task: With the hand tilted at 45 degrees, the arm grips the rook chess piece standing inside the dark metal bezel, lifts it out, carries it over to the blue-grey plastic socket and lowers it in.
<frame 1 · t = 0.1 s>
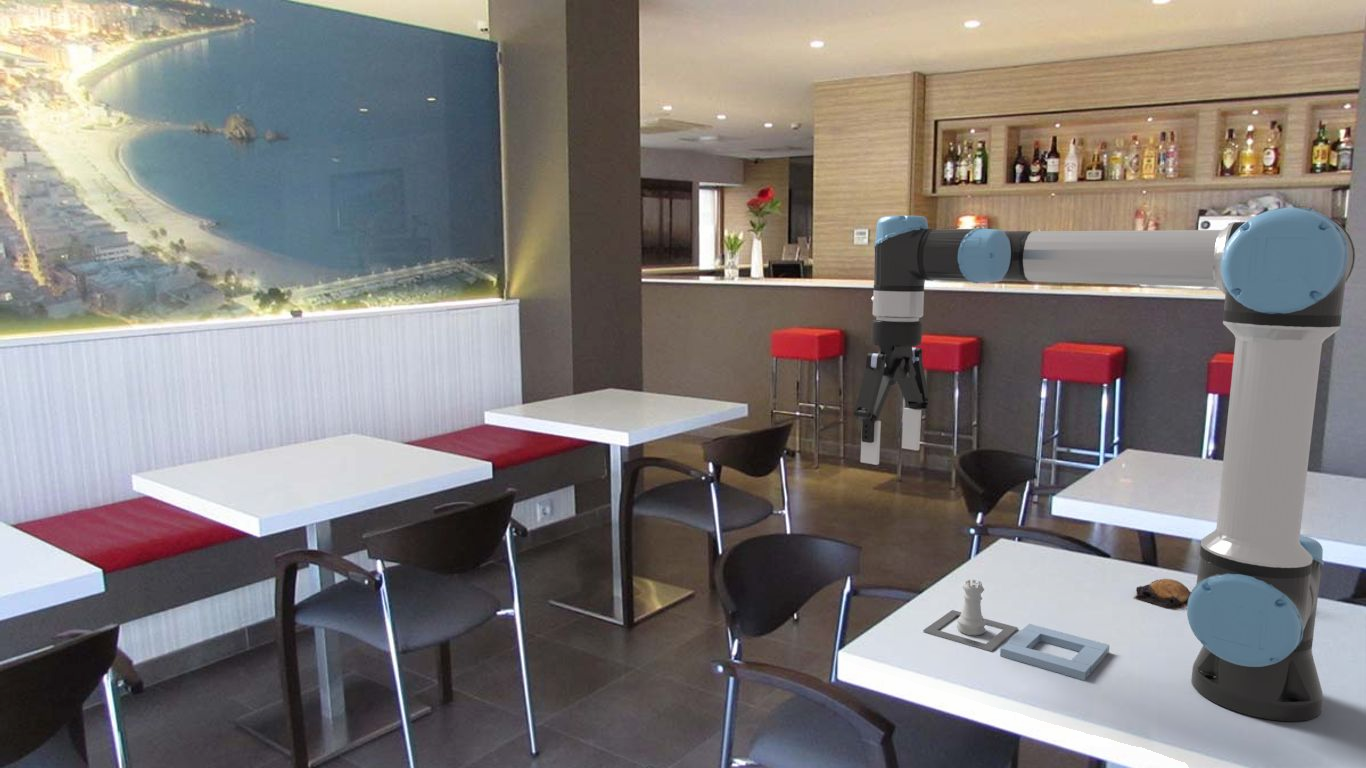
hand: (890, 456, 143), 28 cm above the table, tool pointing down, fingers open, 13 cm apart
bezel: (970, 630, 146), on the table
bread roll: (1164, 601, 162), on the table
socket: (1054, 654, 138), on the table
rook chess piece: (970, 632, 146), on the table
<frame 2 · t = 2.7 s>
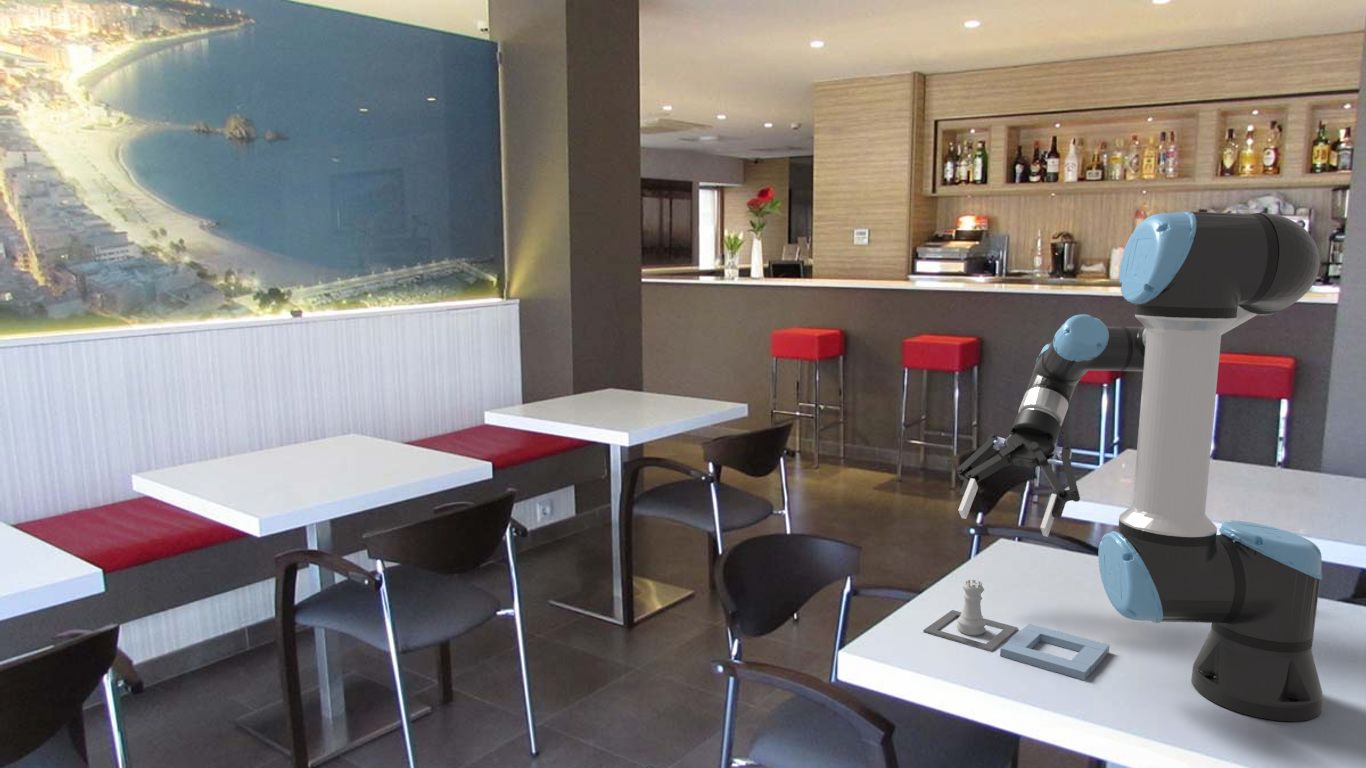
hand: (1001, 523, 152), 15 cm above the table, tool tilted 45°, fingers open, 13 cm apart
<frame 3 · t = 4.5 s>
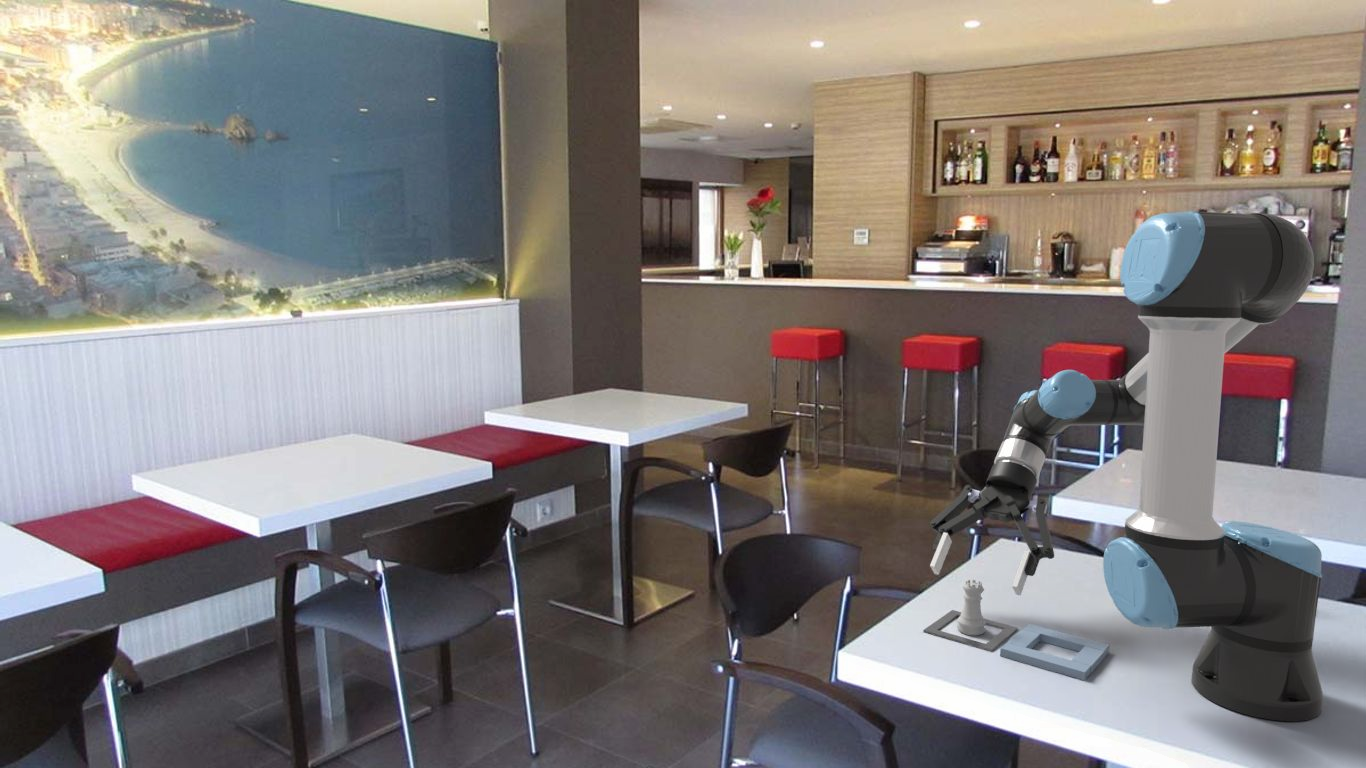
hand: (974, 580, 147), 7 cm above the table, tool tilted 45°, fingers open, 13 cm apart
nothing on the table moved.
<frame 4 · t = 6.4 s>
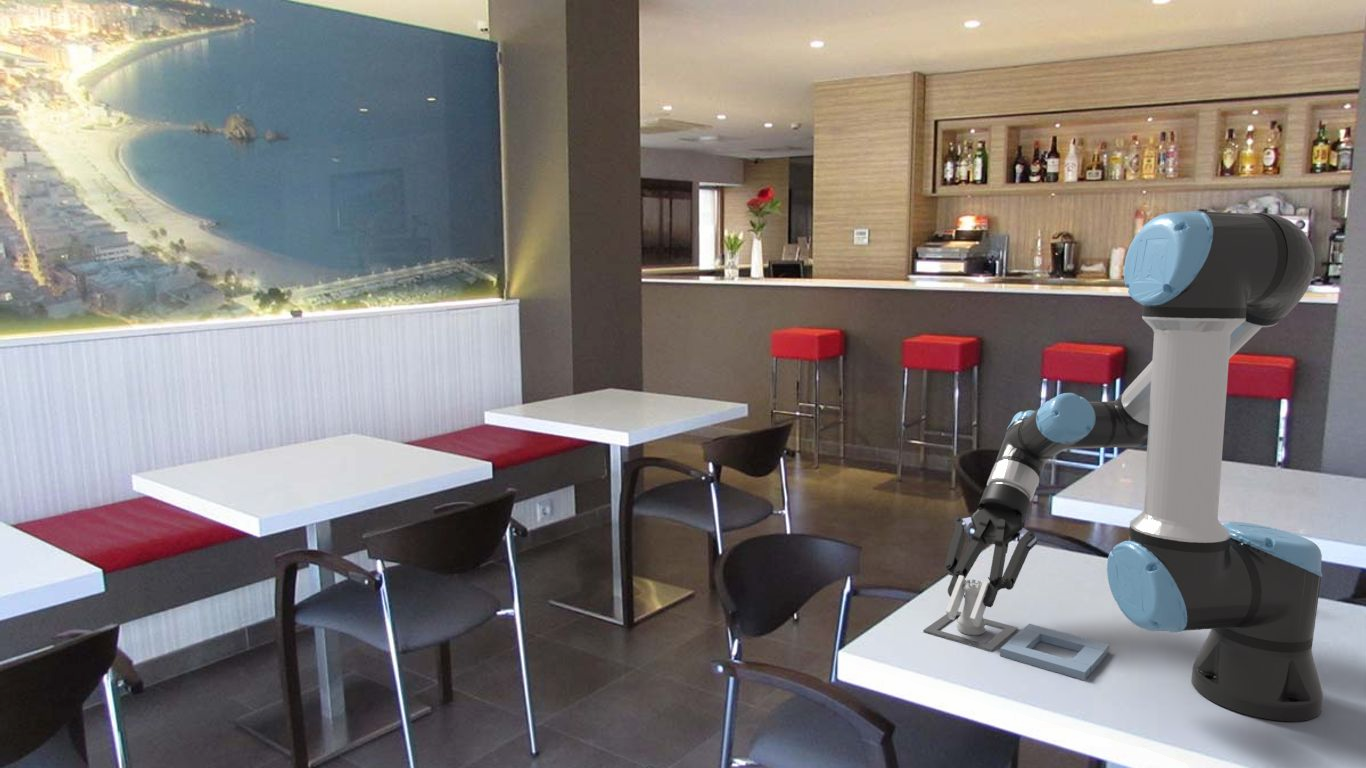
hand: (962, 618, 142), 3 cm above the table, tool tilted 45°, fingers closed on rook chess piece, 3 cm apart
rook chess piece: (970, 631, 146), on the table, touching gripper
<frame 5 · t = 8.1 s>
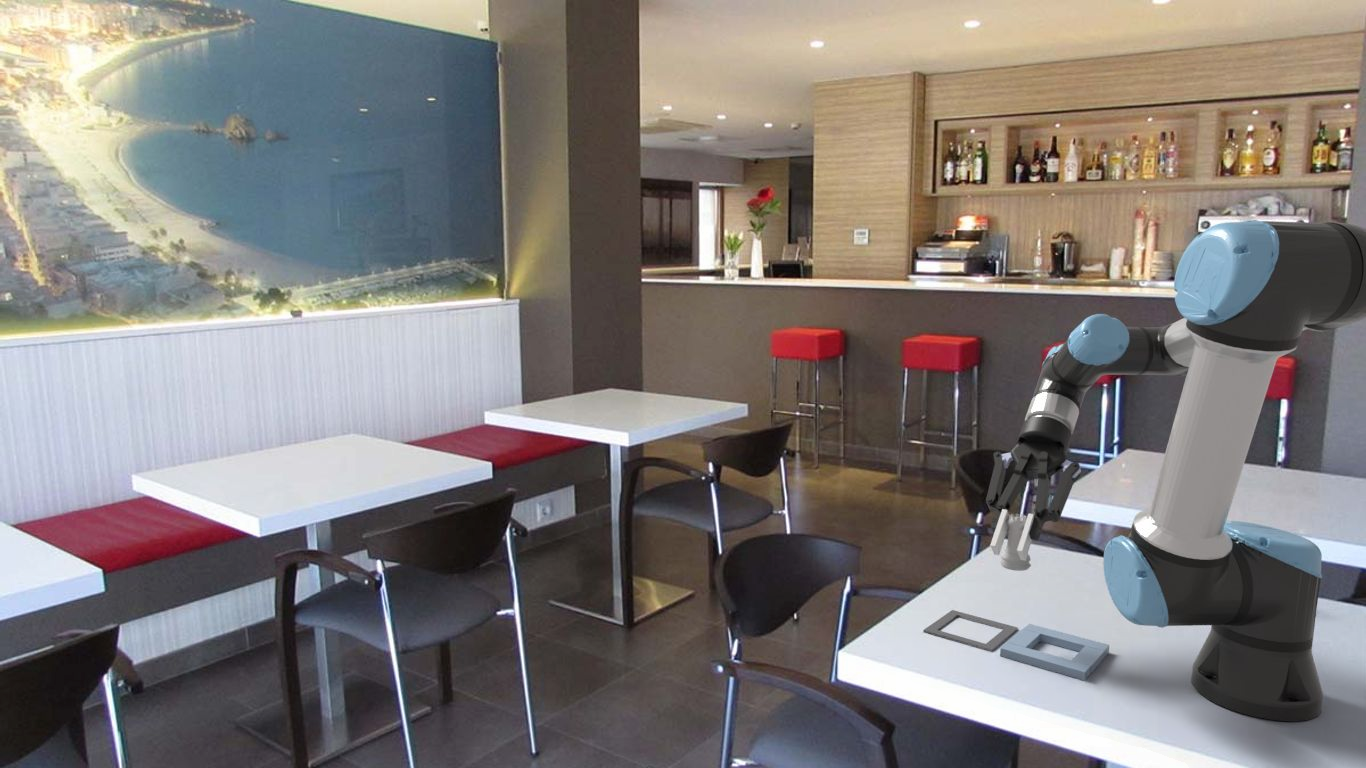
hand: (1007, 552, 137), 15 cm above the table, tool tilted 45°, fingers closed on rook chess piece, 3 cm apart
rook chess piece: (1015, 567, 140), point 12 cm above the table, touching gripper
when the fingers open (5 cm above the table, at t = 10.7 s): rook chess piece drops 2 cm, on the table.
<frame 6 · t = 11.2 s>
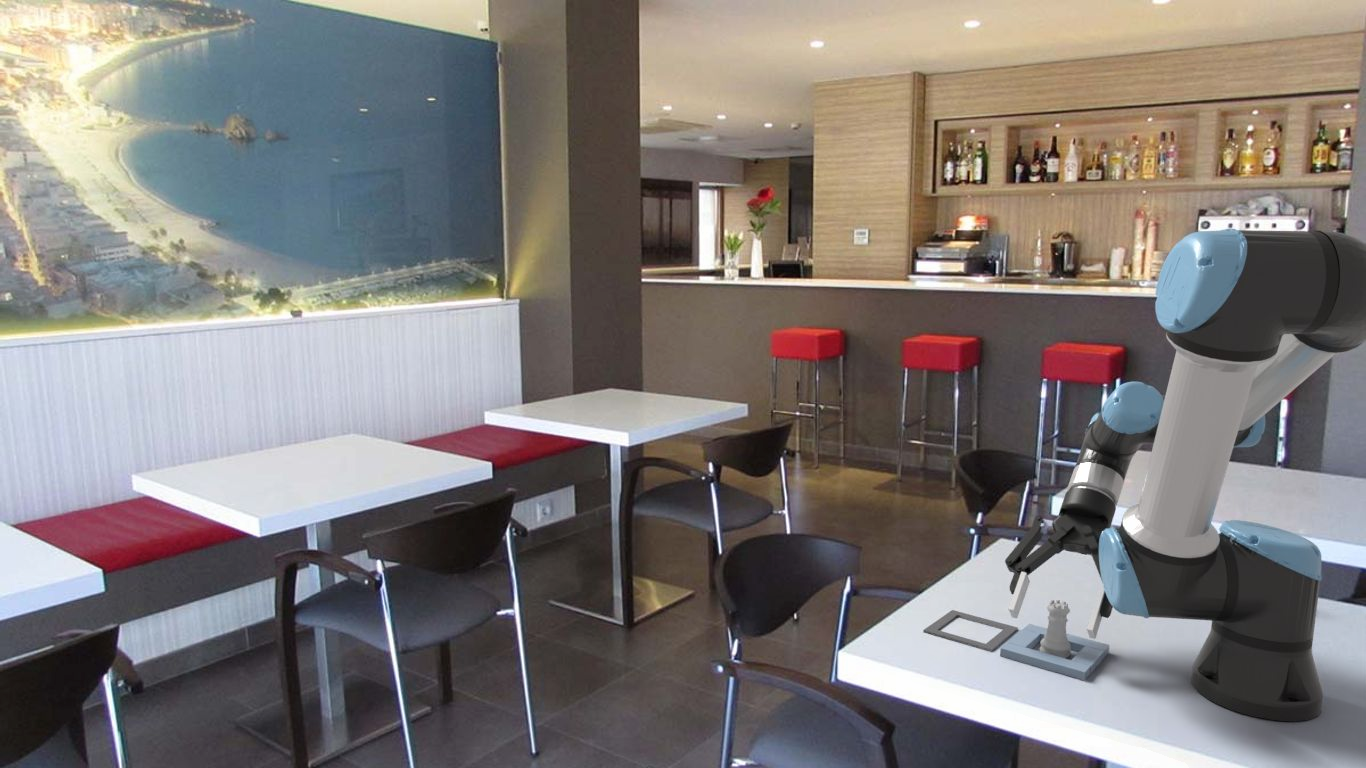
hand: (1050, 623, 135), 6 cm above the table, tool tilted 45°, fingers open, 10 cm apart
rook chess piece: (1054, 655, 138), on the table
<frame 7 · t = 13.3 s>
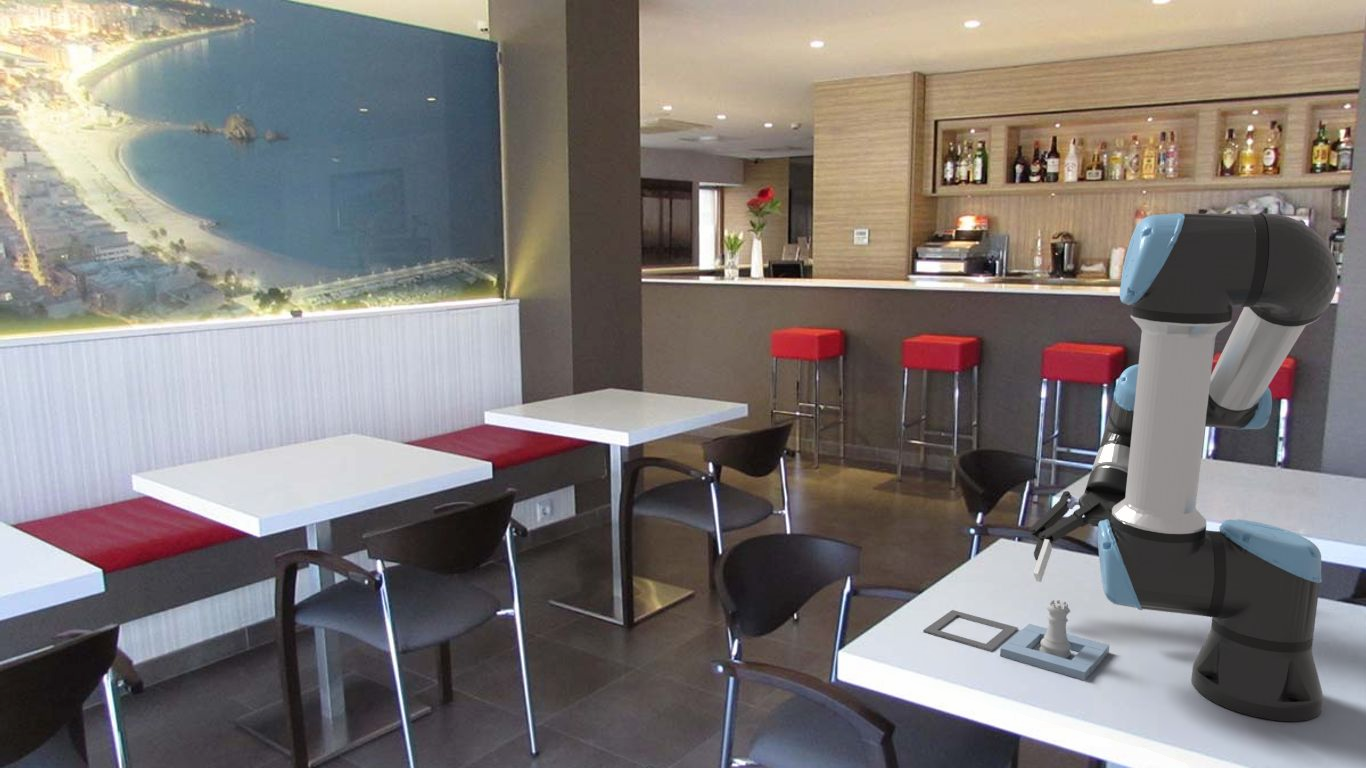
hand: (1080, 587, 145), 7 cm above the table, tool tilted 45°, fingers open, 13 cm apart
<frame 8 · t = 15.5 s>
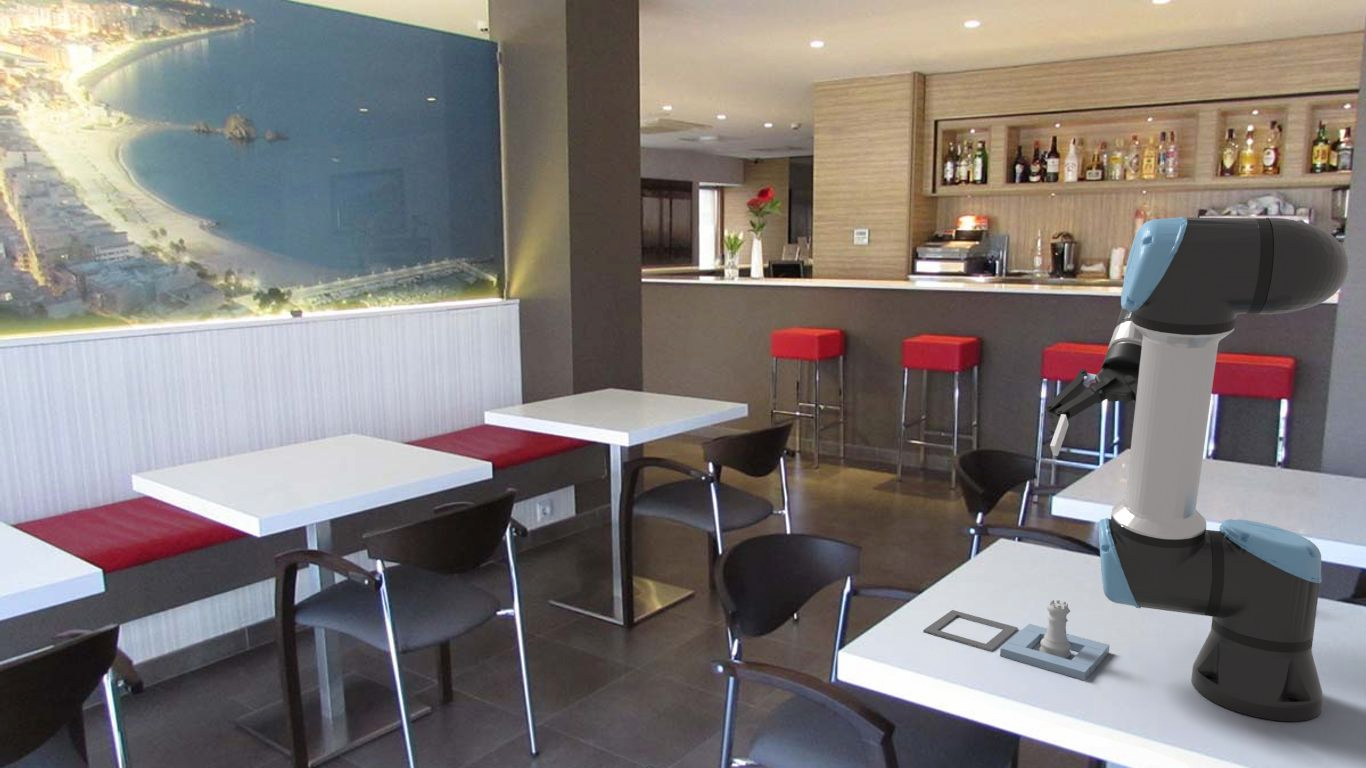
hand: (1097, 457, 145), 28 cm above the table, tool tilted 45°, fingers open, 13 cm apart
at the end: rook chess piece 0.1 cm off-centre on the socket, point 0.0 cm above the socket's base; rook chess piece tilted 0°; the gripper is holding nothing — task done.
